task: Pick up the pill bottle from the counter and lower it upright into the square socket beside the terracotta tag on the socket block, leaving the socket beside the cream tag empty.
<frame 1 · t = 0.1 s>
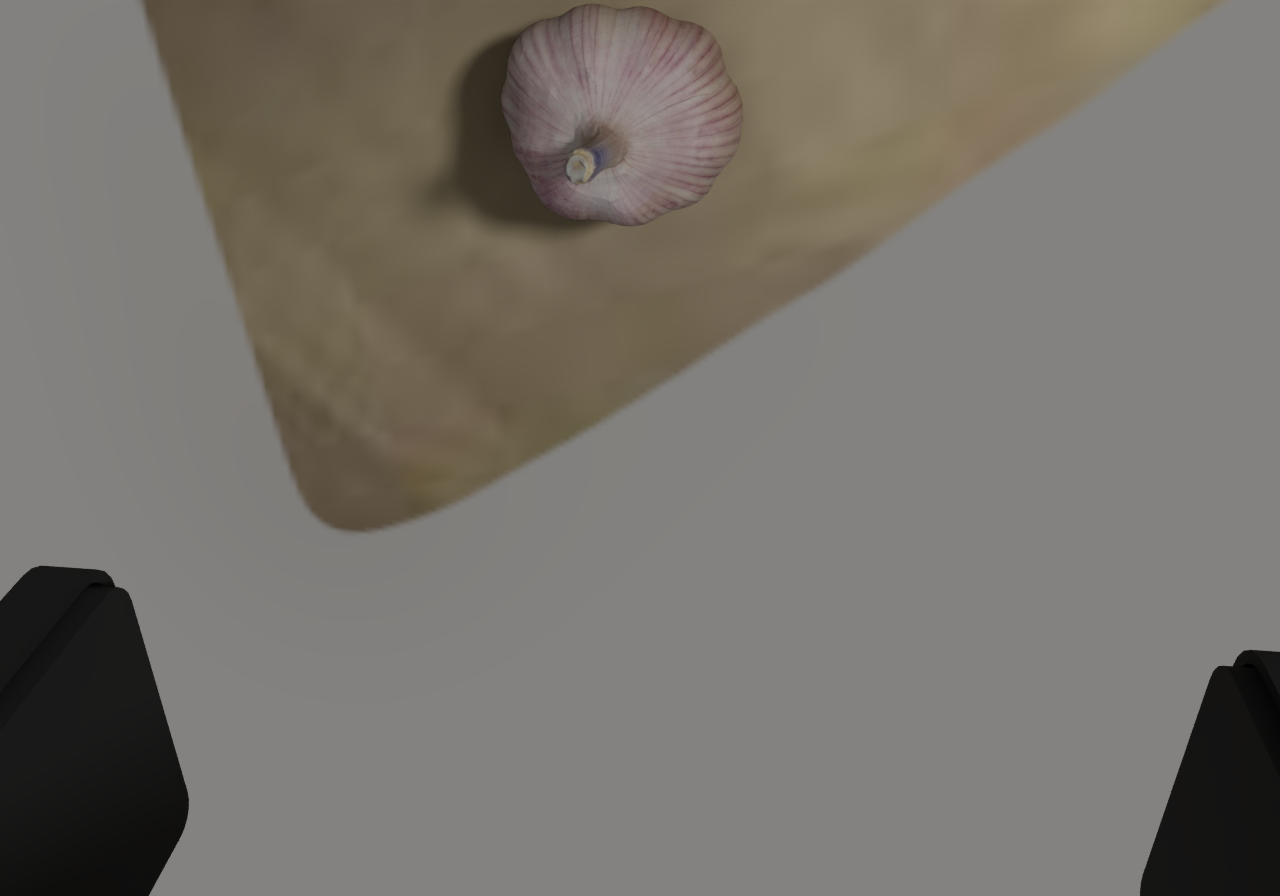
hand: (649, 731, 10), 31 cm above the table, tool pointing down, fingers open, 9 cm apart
garlic bulb: (628, 93, 39), on the table
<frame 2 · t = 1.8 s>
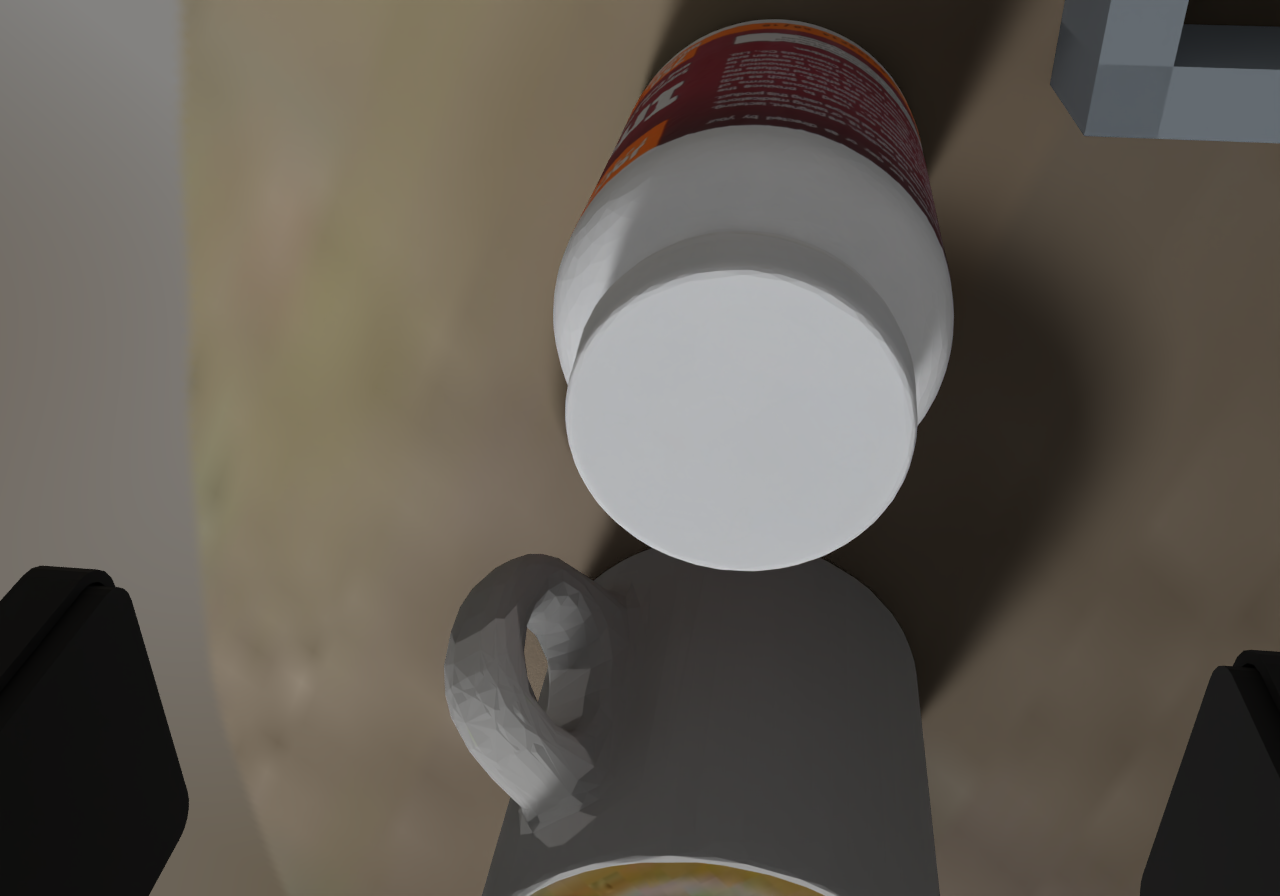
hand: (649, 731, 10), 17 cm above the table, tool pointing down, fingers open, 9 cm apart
pill bottle: (769, 164, 25), on the table
coffee mug: (704, 634, 32), on the table
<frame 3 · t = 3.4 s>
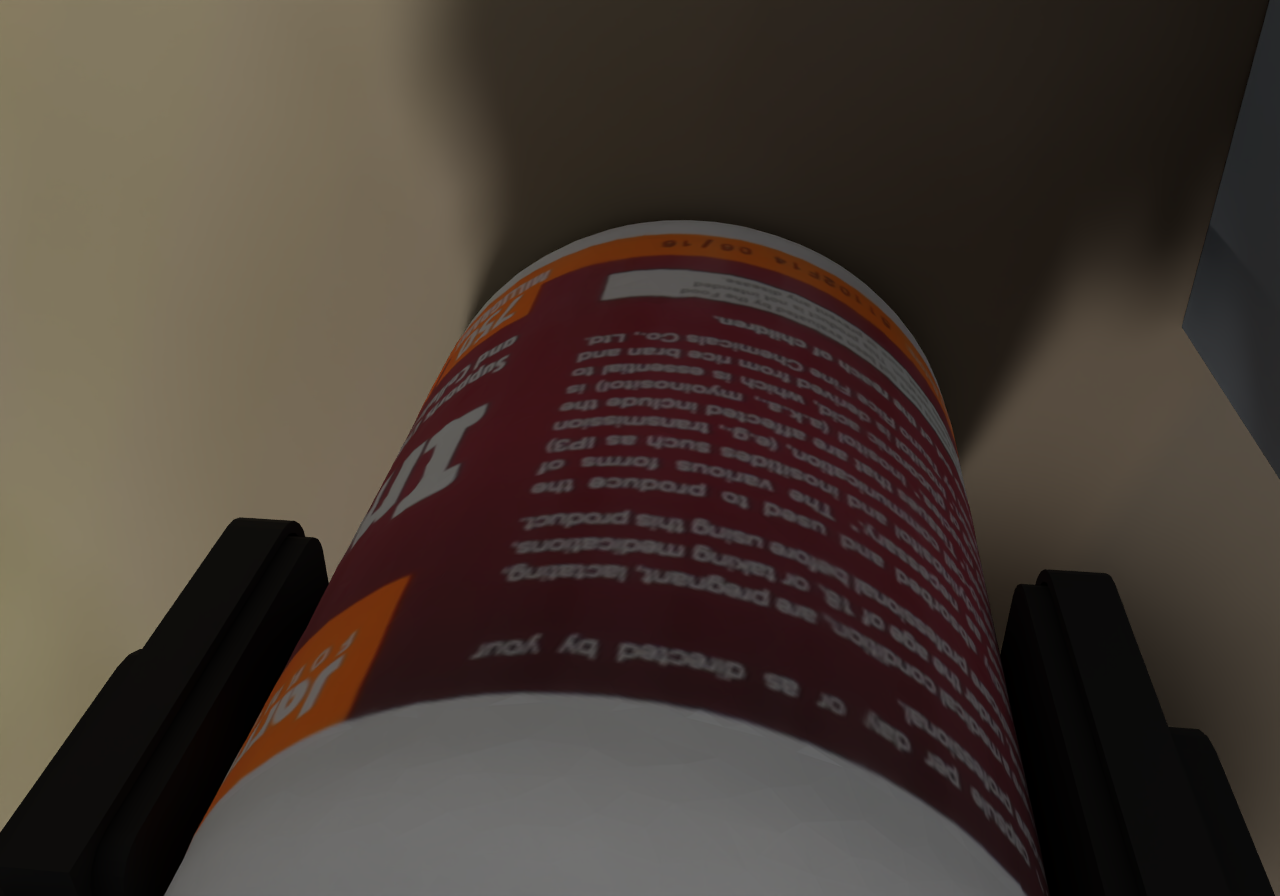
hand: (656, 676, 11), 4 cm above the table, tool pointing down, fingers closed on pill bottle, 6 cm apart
pill bottle: (690, 435, 15), on the table, touching gripper
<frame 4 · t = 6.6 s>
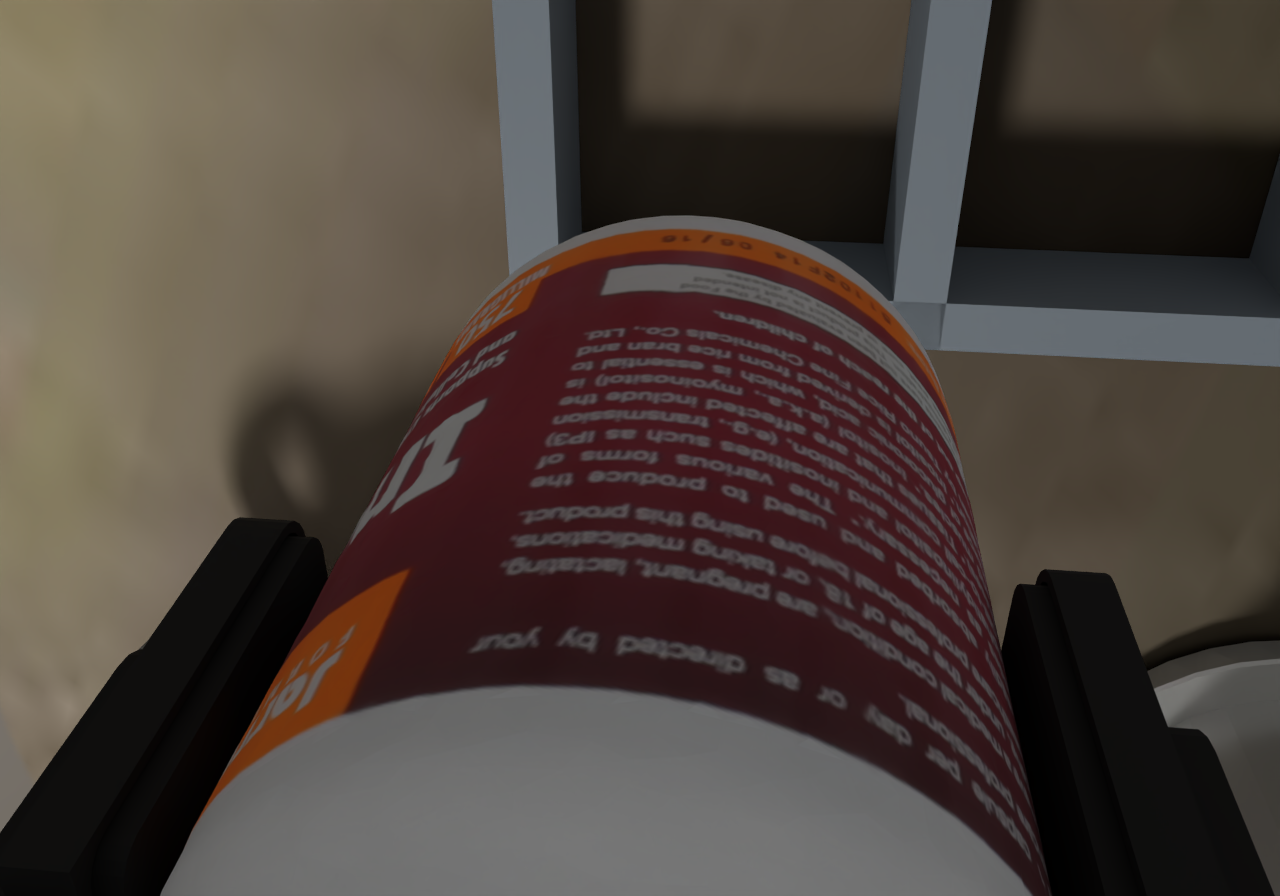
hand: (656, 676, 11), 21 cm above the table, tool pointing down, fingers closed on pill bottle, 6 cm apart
pill bottle: (690, 432, 15), point 16 cm above the table, touching gripper
socket block: (926, 90, 28), on the table
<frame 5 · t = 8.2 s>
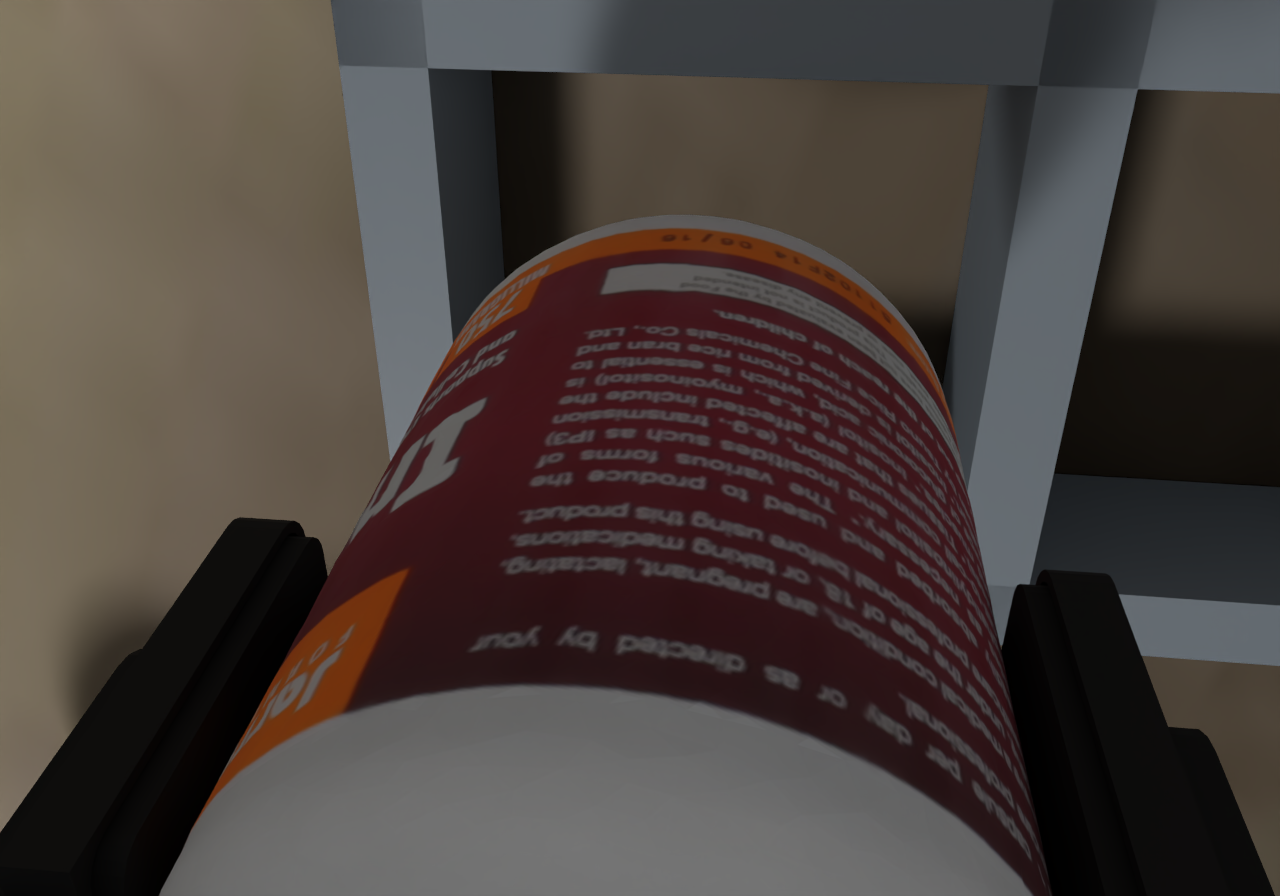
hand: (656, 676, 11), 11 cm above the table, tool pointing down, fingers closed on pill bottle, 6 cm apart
pill bottle: (690, 431, 15), point 6 cm above the table, touching gripper
socket block: (997, 270, 20), on the table
when the fingers open (5 cm above the table, at t = 9.8 s): pill bottle stays where it is, resting in socket block.
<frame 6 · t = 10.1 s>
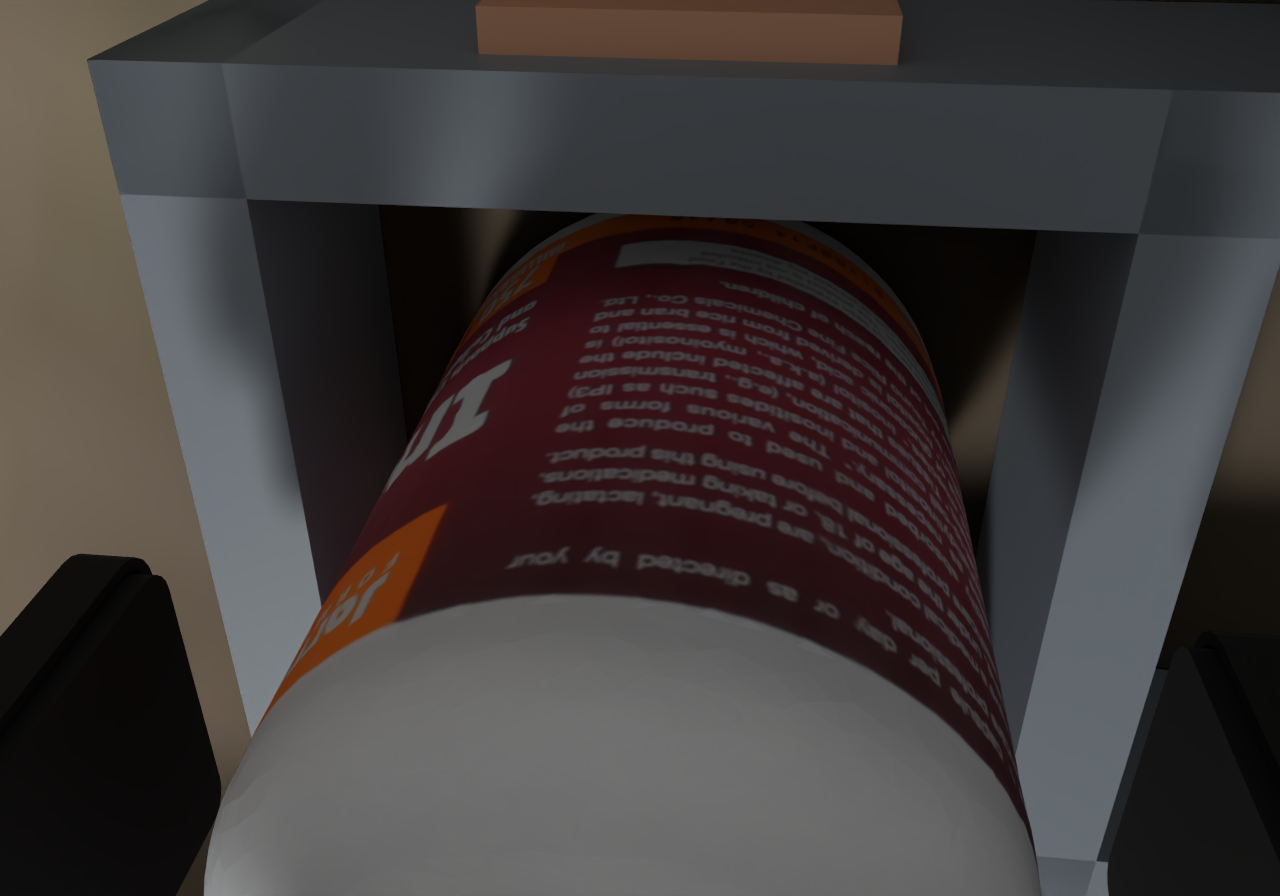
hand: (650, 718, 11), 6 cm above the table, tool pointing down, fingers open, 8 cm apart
pill bottle: (695, 403, 16), resting in socket block
socket block: (1049, 424, 15), on the table
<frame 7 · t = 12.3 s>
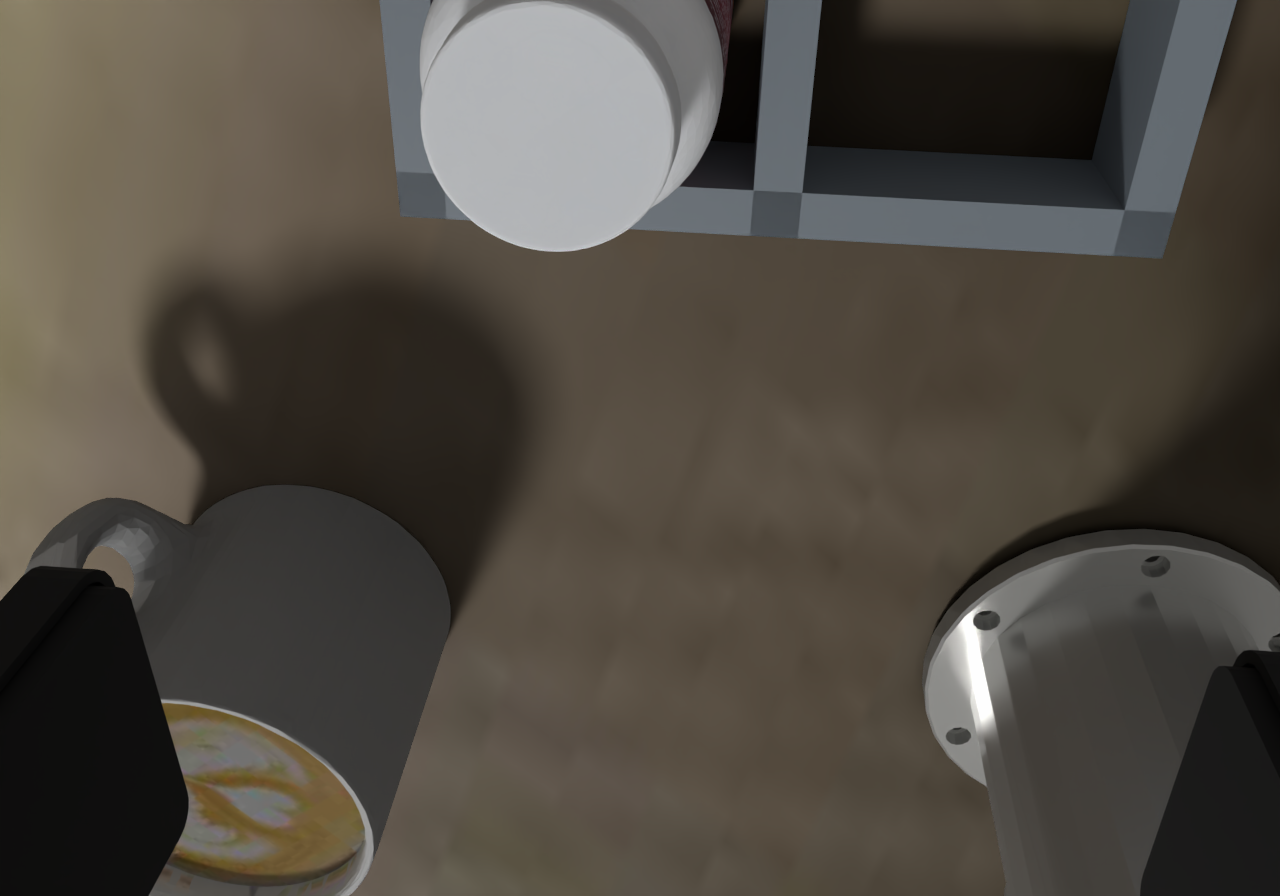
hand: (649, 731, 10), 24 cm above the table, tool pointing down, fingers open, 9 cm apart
coffee mug: (289, 558, 42), on the table
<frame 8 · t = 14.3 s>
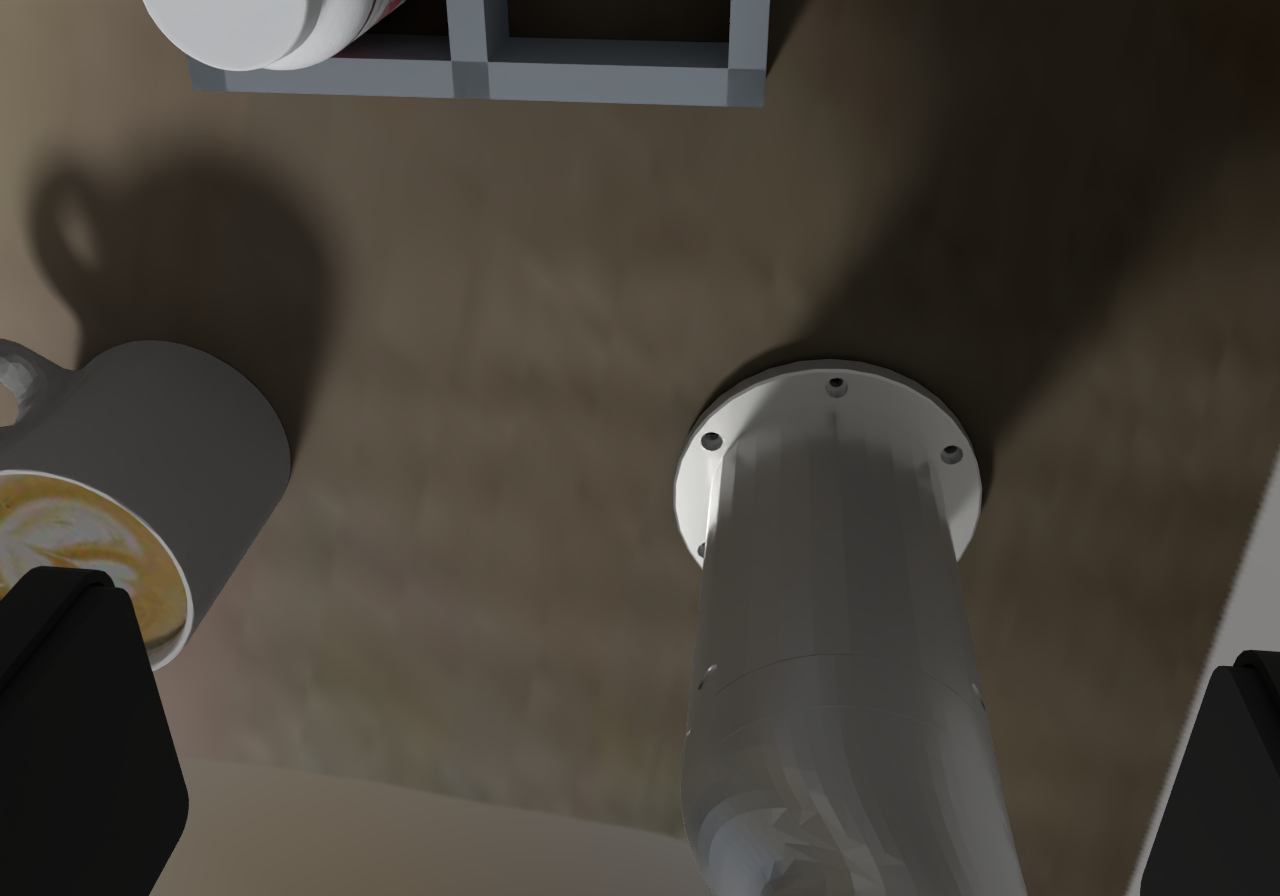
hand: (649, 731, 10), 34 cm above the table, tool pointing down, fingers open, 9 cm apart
coffee mug: (157, 407, 51), on the table
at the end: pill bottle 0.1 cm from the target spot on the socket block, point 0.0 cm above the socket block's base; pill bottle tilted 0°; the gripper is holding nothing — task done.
